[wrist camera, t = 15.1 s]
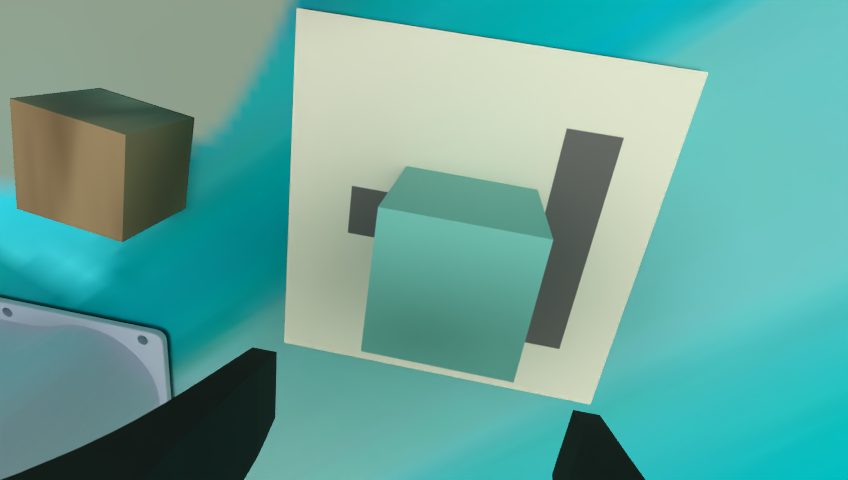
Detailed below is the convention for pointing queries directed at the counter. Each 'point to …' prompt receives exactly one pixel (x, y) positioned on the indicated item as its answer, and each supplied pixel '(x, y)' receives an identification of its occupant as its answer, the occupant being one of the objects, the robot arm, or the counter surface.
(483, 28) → the counter surface
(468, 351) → the turquoise cube
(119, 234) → the walnut block
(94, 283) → the counter surface
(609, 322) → the board
